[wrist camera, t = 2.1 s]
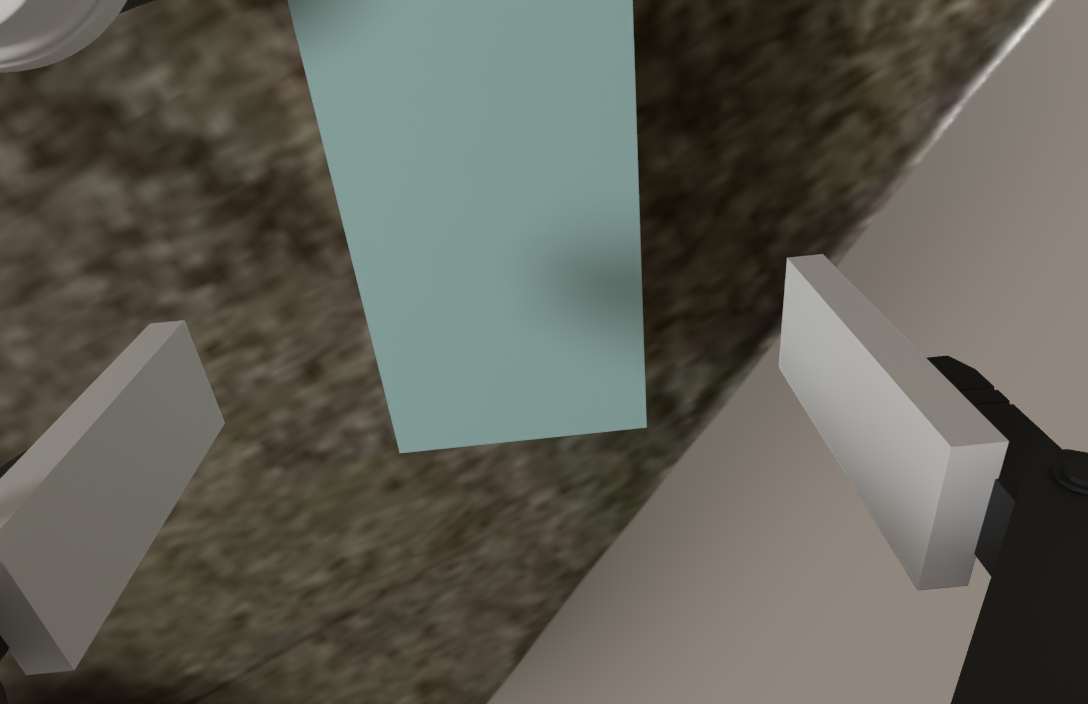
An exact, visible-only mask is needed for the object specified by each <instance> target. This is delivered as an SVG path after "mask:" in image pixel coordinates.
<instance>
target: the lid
mask: <svg viewBox="0 0 1088 704" xmlns="http://www.w3.org/2000/svg"><path fill="white" fill-rule="evenodd" d="M287 1H288V5H289V9H290V13H291V17H292V21H293V25H294V29H295V33H296V37H297V41H298V45H299V49H300V53H301V57H302V61H303V65H304V69H305V73H306V77H307V81H308V85H309V89H310V93H311V97H312V101H313V105H314V109H315V114H316V118H317V122H318V126H319V130H320V134H321V138H322V142H323V146H324V150H325V154H326V158H327V162H328V166H329V170H330V174H331V178H332V182H333V186H334V190H335V194H336V198H337V202H338V206H339V210H340V214H341V218H342V222H343V226H344V230H345V234H346V238H347V242H348V246H349V250H350V254H351V259H352V263H353V267H354V271H355V275H356V279H357V283H358V287H359V291H360V295H361V299H362V303H363V307H364V311H365V315H366V319H367V323H368V327H369V331H370V335H371V339H372V343H373V347H374V351H375V355H376V359H377V363H378V367H379V371H380V375H381V379H382V383H383V387H384V391H385V395H386V399H387V404H388V408H389V412H390V416H391V420H392V424H393V428H394V432H395V436H396V440H397V444H398V448H399V452H400V453H406V452H415V451H425V450H435V449H444V448H454V447H463V446H473V445H483V444H492V443H502V442H511V441H521V440H531V439H540V438H550V437H559V436H569V435H578V434H588V433H598V432H607V431H617V430H626V429H636V428H646V427H647V424H646V394H645V363H644V332H643V302H642V271H641V240H640V210H639V179H638V148H637V118H636V87H635V57H634V26H633V0H287Z"/></svg>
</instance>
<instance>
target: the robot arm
mask: <svg viewBox="0 0 1088 704" xmlns="http://www.w3.org/2000/svg"><path fill="white" fill-rule="evenodd" d="M779 369H780V370H781V372H782V373H783V375H784V377H785V378H786V380H787V382H788V383H789V385H790V386H791V388H792V390H793V391H794V393H795V394H796V396H797V398H798V399H799V401H800V402H801V404H802V406H803V407H804V409H805V411H806V412H807V414H808V415H809V417H810V418H811V420H812V422H813V423H814V425H815V427H816V428H817V430H818V431H819V433H820V435H821V436H822V438H823V439H824V441H825V443H826V444H827V446H828V447H829V449H830V451H831V452H832V454H833V455H834V457H835V459H836V460H837V462H838V463H839V465H840V467H841V468H842V470H843V472H844V473H845V475H846V476H847V478H848V480H849V481H850V483H851V484H852V486H853V487H854V489H855V491H856V492H857V494H858V496H859V497H860V499H861V500H862V502H863V503H864V505H865V507H866V508H867V510H868V511H869V513H870V515H871V517H872V518H873V520H874V521H875V523H876V524H877V526H878V527H879V529H880V531H881V533H882V534H883V536H884V537H885V539H886V540H887V542H888V544H889V545H890V547H891V549H892V550H893V552H894V553H895V555H896V557H897V558H898V560H899V561H900V563H901V565H902V566H903V568H904V569H905V571H906V573H907V574H908V576H909V577H910V579H911V581H912V582H913V584H914V586H915V587H916V589H917V590H928V589H939V588H949V587H960V586H968V584H969V580H970V577H971V573H972V570H973V566H974V563H975V559H976V557H977V558H978V559H979V560H980V562H981V563H982V565H983V566H984V567H985V569H986V570H987V571H988V573H989V574H990V575H991V580H990V583H989V586H988V589H987V592H986V595H985V599H984V601H983V605H982V608H981V611H980V614H979V617H978V620H977V623H976V626H975V630H974V633H973V636H972V639H971V642H970V645H969V648H968V651H967V655H966V658H965V661H964V664H963V667H962V670H961V673H960V676H959V680H958V683H957V686H956V689H955V692H954V696H953V699H952V702H951V704H1088V453H1086V452H1080V451H1075V450H1069V449H1064V450H1062V449H1061V448H1060V447H1059V446H1058V445H1057V444H1056V443H1055V442H1053V440H1051V439H1050V438H1049V437H1048V436H1047V435H1046V434H1045V433H1044V432H1043V431H1042V430H1041V429H1040V428H1039V427H1037V426H1036V425H1035V424H1034V423H1033V422H1032V421H1031V420H1030V419H1029V418H1028V417H1027V416H1026V415H1024V414H1023V413H1022V412H1021V411H1020V410H1019V409H1018V408H1017V407H1016V406H1015V405H1013V404H1011V405H1010V403H1009V400H1008V399H1007V398H1006V397H1005V396H1004V395H1003V394H1002V393H1001V392H1000V391H998V390H994V386H993V385H992V384H991V383H990V382H989V381H988V380H986V379H985V378H984V377H983V376H982V375H981V374H980V373H979V372H978V371H977V370H975V369H974V368H972V367H970V366H968V365H966V364H963V363H962V362H960V361H958V360H956V359H953V358H952V357H949V356H939V357H931V358H930V357H929V358H926V357H925V356H924V355H923V354H922V353H921V352H920V351H919V350H918V349H917V348H916V347H915V346H914V345H913V344H912V343H911V342H910V341H909V340H908V339H907V338H906V337H905V336H904V335H903V334H902V333H901V332H900V331H899V330H898V329H897V328H896V327H895V326H894V325H893V324H892V323H891V322H890V321H889V320H888V319H887V318H886V317H885V316H884V315H883V314H882V313H881V312H880V311H879V310H878V309H877V308H876V307H875V306H874V305H873V304H872V303H871V302H870V301H869V300H868V299H867V298H866V297H865V296H864V295H863V294H862V293H861V292H860V291H859V290H858V289H857V288H856V287H855V286H854V285H853V284H852V283H851V282H850V281H849V280H848V279H847V278H846V277H845V276H844V275H843V274H842V273H841V272H840V271H839V270H838V269H837V268H836V267H835V266H834V265H833V264H832V263H831V262H830V261H829V260H828V259H827V258H826V257H825V256H824V255H823V254H818V255H808V256H799V257H789V258H787V265H786V277H785V290H784V303H783V316H782V329H781V342H780V355H779ZM224 424H225V422H224V420H223V417H222V414H221V412H220V409H219V407H218V404H217V402H216V399H215V397H214V394H213V392H212V389H211V387H210V384H209V381H208V379H207V376H206V374H205V371H204V369H203V366H202V364H201V361H200V359H199V356H198V354H197V351H196V349H195V346H194V343H193V341H192V338H191V336H190V333H189V331H188V328H187V326H186V323H185V321H184V320H182V321H173V322H163V323H153V324H149V325H148V326H147V327H146V328H145V329H144V330H143V331H142V332H141V334H140V335H139V336H138V337H137V338H136V339H135V340H134V341H133V342H132V343H131V344H130V345H129V346H128V347H127V348H126V349H125V350H124V351H123V352H122V353H121V354H120V355H119V356H118V357H117V358H116V359H115V360H114V361H113V363H112V364H111V365H110V366H109V367H108V368H107V369H106V370H105V371H104V372H103V373H102V374H101V375H100V376H99V377H98V378H97V379H96V380H95V381H94V382H93V383H92V384H91V385H90V386H89V387H88V388H87V389H86V390H85V391H84V393H83V394H82V395H81V396H80V397H79V398H78V399H77V400H76V401H75V402H74V403H73V404H72V405H71V406H70V407H69V408H68V409H67V410H66V411H65V412H64V413H63V414H62V415H61V416H60V417H59V418H58V419H57V420H56V422H55V423H54V424H53V425H52V426H51V427H50V428H49V429H48V430H47V431H46V432H45V433H44V434H43V435H42V436H41V437H40V438H39V439H38V440H37V441H36V442H35V443H34V444H33V445H32V446H31V447H30V448H29V449H28V450H26V451H24V452H23V453H21V454H20V455H18V456H17V457H15V458H14V459H12V460H11V461H9V462H8V463H6V464H5V465H3V466H2V467H0V661H1V659H2V658H3V656H4V655H5V654H6V652H7V651H8V650H9V652H10V653H11V655H12V656H13V657H14V659H15V660H16V662H17V663H18V664H19V666H20V667H21V669H22V670H23V671H24V673H25V674H26V675H33V674H43V673H54V672H64V671H74V670H75V669H76V667H77V665H78V664H79V662H80V660H81V659H82V657H83V655H84V654H85V652H86V651H87V649H88V647H89V646H90V644H91V642H92V641H93V639H94V637H95V636H96V634H97V632H98V631H99V629H100V628H101V626H102V624H103V623H104V621H105V619H106V618H107V616H108V614H109V613H110V611H111V609H112V608H113V606H114V605H115V603H116V601H117V600H118V598H119V596H120V595H121V593H122V591H123V590H124V588H125V586H126V585H127V583H128V582H129V580H130V578H131V577H132V575H133V573H134V572H135V570H136V568H137V567H138V565H139V563H140V562H141V560H142V558H143V557H144V555H145V554H146V552H147V550H148V549H149V547H150V545H151V544H152V542H153V540H154V539H155V537H156V535H157V534H158V532H159V531H160V529H161V527H162V526H163V524H164V522H165V521H166V519H167V517H168V516H169V514H170V512H171V511H172V509H173V508H174V506H175V504H176V503H177V501H178V499H179V498H180V496H181V494H182V493H183V491H184V489H185V488H186V486H187V485H188V483H189V481H190V480H191V478H192V476H193V475H194V473H195V471H196V470H197V468H198V466H199V465H200V463H201V461H202V460H203V458H204V457H205V455H206V453H207V452H208V450H209V448H210V447H211V445H212V443H213V442H214V440H215V438H216V437H217V435H218V434H219V432H220V430H221V429H222V427H223V425H224ZM0 704H8V702H7V698H6V694H5V690H4V686H3V685H2V684H1V682H0Z"/></svg>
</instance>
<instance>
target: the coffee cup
mask: <svg viewBox="0 0 1088 704" xmlns="http://www.w3.org/2000/svg"><path fill="white" fill-rule="evenodd" d="M151 1H154V0H0V72H15V71H24V70H30V69H35V68H39V67H43V66H46V65H50V64H53V63H55V62H58V61H60V60H63V59H65V58H67V57H69V56H71V55H73V54H75V53H76V52H78V51H80V50H81V49H83V48H84V47H86V46H87V45H89V44H90V43H91V42H93V41H94V40H95V39H96V38H97V37H99V36H100V35H101V34H102V33H103V32H104V31H105V30H106V29H107V28H108V26H109V25H110V24H111V23H112V22H113V21H114V19H115V18H116V17H117V15H118V14H120V13H123V12H125V11H128V10H130V9H133V8H135V7H138V6H141V5H143V4H146V3H148V2H151Z"/></svg>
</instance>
